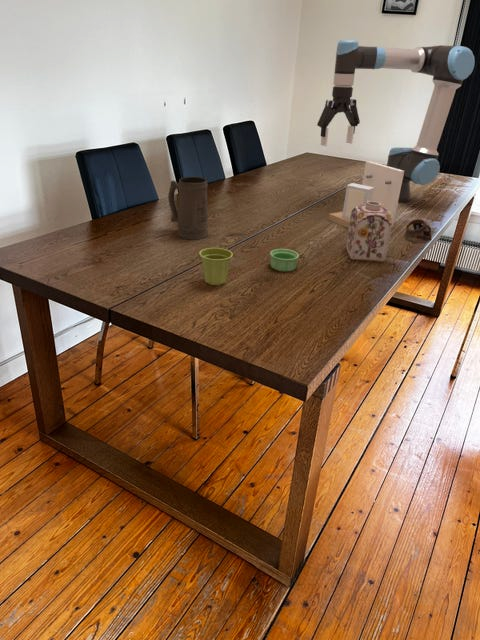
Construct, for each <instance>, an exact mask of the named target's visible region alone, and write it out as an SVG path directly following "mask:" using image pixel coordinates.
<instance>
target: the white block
mask: <svg viewBox="0 0 480 640" xmlns="http://www.w3.org/2000/svg"><path fill="white" fill-rule="evenodd" d="M373 192H374V187H370V186H365V185H362V184H360V183H354V182H351V183H348V184H346V190H345V196H344V202H343V209H342V212H343V214H342V218H343V219H347V220H350V217H351V212H352V210H353V209H354V208H355V207H356V206H358V205H366V203H367V202H368V201H372V197H373Z"/></svg>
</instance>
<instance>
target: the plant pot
mask: <svg viewBox="0 0 480 640" xmlns="http://www.w3.org/2000/svg"><path fill="white" fill-rule="evenodd" d="M198 253H199V256H200V259H201V261H202V269H203V276H204V278H203V279H204V282H205V283H206V284H207V283H208V284H209V285H211V286H221V285H222V284H225V283H226V282H227V281H226V280H227V277H228V271H229V265H230V262H231V260H232V257H233V252H232V251H231V250H229V249H226V248H222V247H221V248H220V247H209V248H203V249H201V250H200V251H199V252H198Z"/></svg>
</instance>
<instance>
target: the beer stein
mask: <svg viewBox="0 0 480 640" xmlns="http://www.w3.org/2000/svg"><path fill="white" fill-rule="evenodd" d="M208 186H209V184H208V181H207V179H206V178H205V177H198V176H185V177H181V178H180V179H179V180H178V182H177V181H176V180H170V187H169V191H168V194H167V195H168V196H167V197H168V205H169V207H170V210H171V213H172V214H171V215H172V216H171V219H170V220H171V222H172V223H174V222H176V223H177V227H178V230H177V235H178V237H180V238H181V239H185V240H202V239H205V238H206V237H207V236H208V233H209V232H208V222H209V221H208V217H209V215H208ZM176 190H178V196H177V206H176V201H175V191H176Z"/></svg>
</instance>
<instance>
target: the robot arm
mask: <svg viewBox="0 0 480 640" xmlns="http://www.w3.org/2000/svg"><path fill="white" fill-rule="evenodd" d="M473 53H474V52H473V51H472V50H471V49H470V48H468V47H467V46H462V45H442V44H441V45H433V46H417V47H415V48H398V47H397V48H396V47H382V46H381V47H380V46H367V45H365V46H362V45H359V41H358V40H354V39H353V40H352V39H351V40H350V39H341V40H339V41H338V42H337V47H336V53H335V64H334V74H333V77H334V78H333V85H334V86H332V91H331V92H332V94H331V95H332V100H330V99H326V101H325V103H324V108H323V110H322V113H321V115H320V117H319V119H318V122H317V123H316V126H318V127H319V128H321V129H320V137H321V138H320V139H321V140H320V146H324V147H327V146H328V137H329V136H328V135H329V128H328V126H329V125H330V124H331V123H332V120H333V119H334V118H335V116H336V115H337V114H338V113H344V115H345V118H346V119H347V121H348V123H349V125H347V134H346V143H347V144H353V142H354V141H353V139H354V134H355V133H356V132H355V130H356V127H358V125H359V124H361V121H360V117H359V113H358V107H357V99H356V98H355V99H354V98H352V97H353V92H354V91H353V89H354V88H353V85H354V82H355V81H354V80H355V73H356V70H361V69H362V70H379V69H390V70H391V69H393V70H410V71H411V73H417V74H418V73H419V74H424V75H427V76H432V77H433V78H432V83H433V84H434V87H433V89H432V90H433V91H432V94H431V95H430V96H431V97H430V99H429V103H428V106H427V110H426V114H425V117H424V119H423V123H422V126H421V130H420V133H419V136H418V139H417V142H416V145H415V146H413V147H392V148H390V150H389V152H388V153H389V154H388V156H387V163H386V166H389V167H392V168H396V169H399V170H403V171H404V175H403V180H402V185H401V190H400V195H399V200H398V203H407V202H409V201H411V198H412V197H411V196H412V194H411V185H410V184H411V182H412V183H413V184H417V185H421V186H425V185H428V184H430V183H432V182H433V181H435V179H436V178H437V177H438V175H439V173H440V168H441V165H440V162H439V160H438V158H439V154H440V153H439V152H438V151H437V149H438V146H439V143H440V140H441V137H442V134H443V130H444V127H445V125H446V121H447V119H448V115H449V113H450V109H451V107H452V104H453V101H454V97H455V94H456V90H457V89H459V88H460V87H461V86H462V84H463V81H464V80H465V79H468V78H469V76H470V75H471V74H472V73H473V70H474V68H475V63H476V62H475V55H474V54H473Z"/></svg>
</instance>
